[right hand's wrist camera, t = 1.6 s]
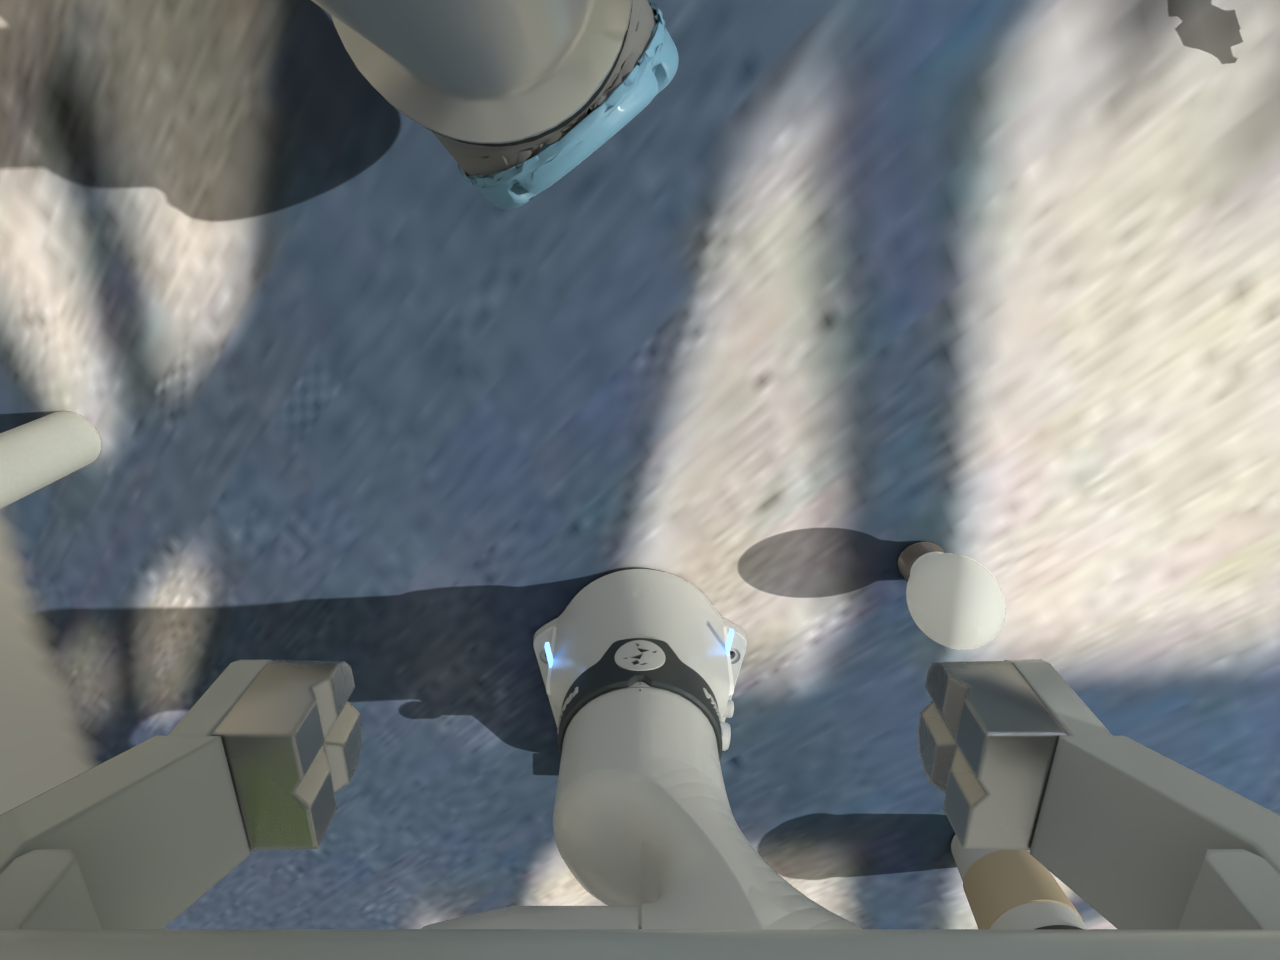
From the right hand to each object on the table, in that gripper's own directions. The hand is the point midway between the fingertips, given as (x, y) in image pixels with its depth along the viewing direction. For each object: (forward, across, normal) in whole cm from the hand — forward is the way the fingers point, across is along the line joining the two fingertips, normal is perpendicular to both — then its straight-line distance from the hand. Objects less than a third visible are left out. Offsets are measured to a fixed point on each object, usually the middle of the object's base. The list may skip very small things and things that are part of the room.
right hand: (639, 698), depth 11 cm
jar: (+48, -45, -12) cm, 67 cm away
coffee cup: (+48, +35, -55) cm, 81 cm away
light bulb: (+48, +24, -23) cm, 58 cm away
